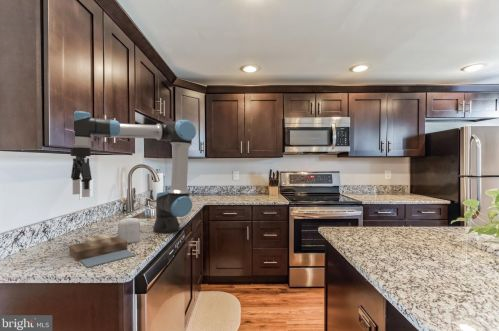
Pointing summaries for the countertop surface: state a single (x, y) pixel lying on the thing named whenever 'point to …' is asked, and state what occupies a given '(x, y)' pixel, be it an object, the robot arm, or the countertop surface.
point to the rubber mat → (106, 258)
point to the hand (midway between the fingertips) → (80, 195)
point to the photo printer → (129, 230)
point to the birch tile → (98, 240)
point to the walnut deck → (96, 249)
